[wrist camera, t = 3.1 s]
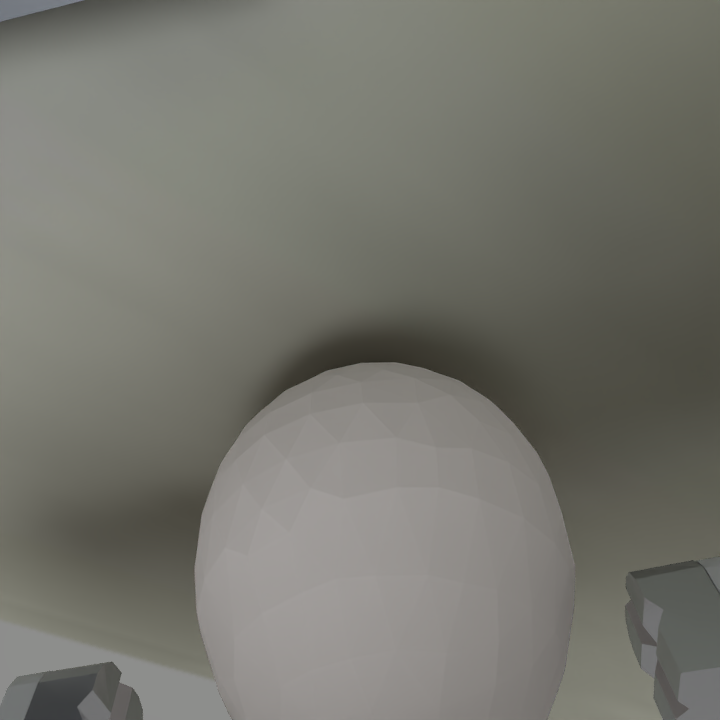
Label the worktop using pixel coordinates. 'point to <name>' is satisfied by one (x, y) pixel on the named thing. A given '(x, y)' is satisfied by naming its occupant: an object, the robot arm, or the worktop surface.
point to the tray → (28, 7)
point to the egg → (384, 557)
